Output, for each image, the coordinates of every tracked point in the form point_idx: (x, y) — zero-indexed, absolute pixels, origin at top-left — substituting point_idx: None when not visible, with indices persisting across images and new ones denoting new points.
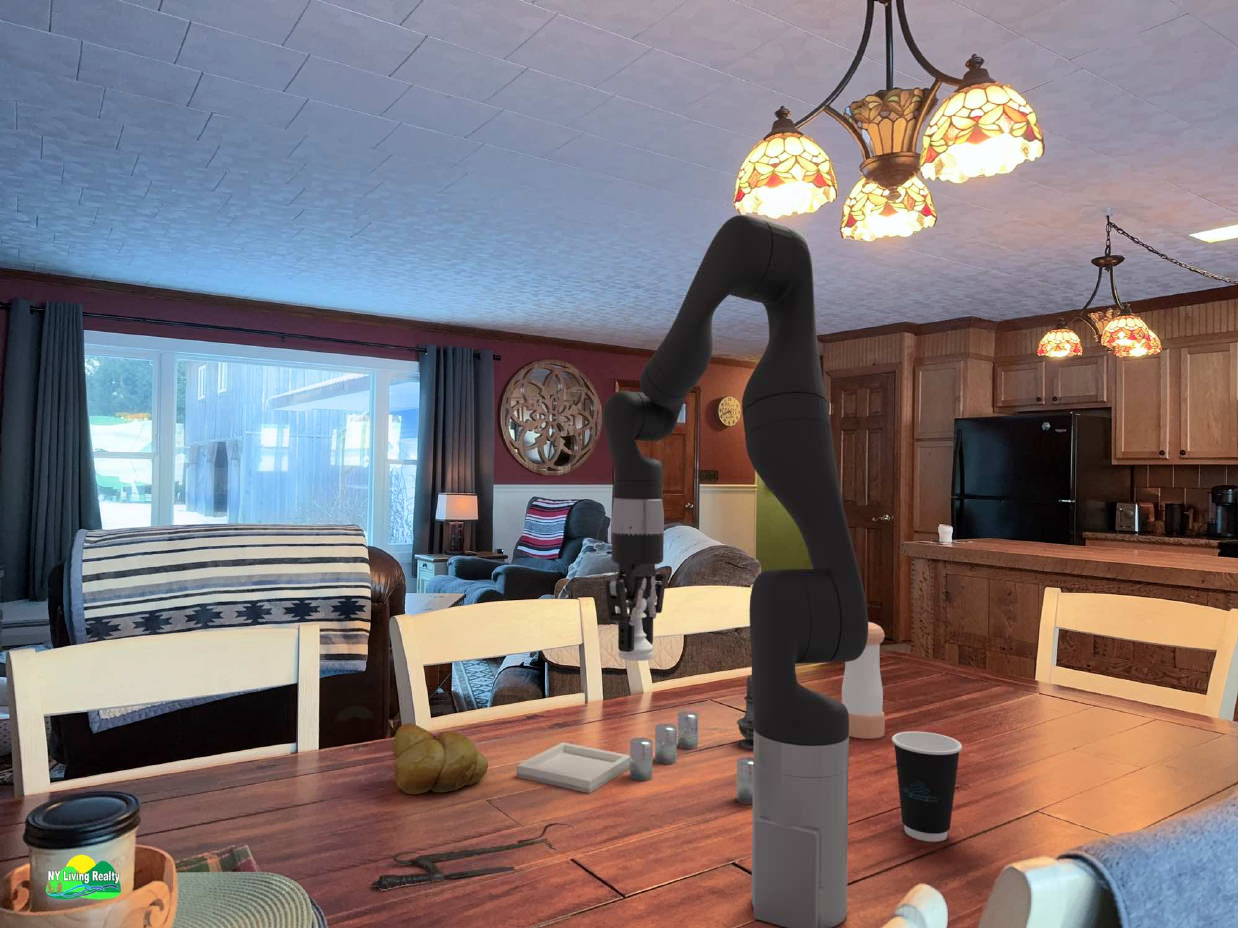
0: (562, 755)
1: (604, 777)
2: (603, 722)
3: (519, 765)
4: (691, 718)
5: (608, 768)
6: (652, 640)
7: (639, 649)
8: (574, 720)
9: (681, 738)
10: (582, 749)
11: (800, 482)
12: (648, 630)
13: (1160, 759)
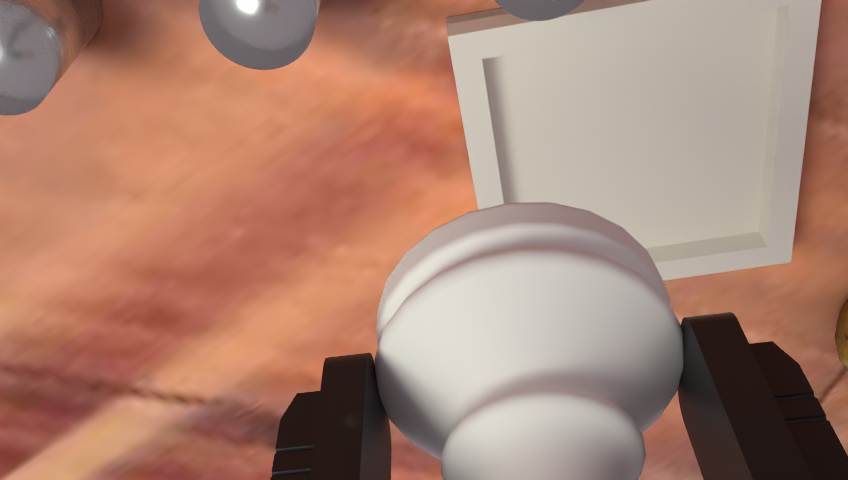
0: None
1: None
2: (143, 373)
3: (788, 253)
4: (15, 18)
5: (646, 9)
6: (332, 375)
7: (646, 292)
8: (210, 434)
9: (86, 22)
10: None
11: None
12: (365, 470)
13: None
